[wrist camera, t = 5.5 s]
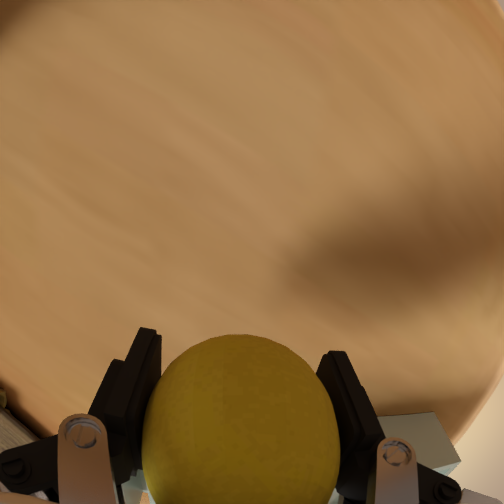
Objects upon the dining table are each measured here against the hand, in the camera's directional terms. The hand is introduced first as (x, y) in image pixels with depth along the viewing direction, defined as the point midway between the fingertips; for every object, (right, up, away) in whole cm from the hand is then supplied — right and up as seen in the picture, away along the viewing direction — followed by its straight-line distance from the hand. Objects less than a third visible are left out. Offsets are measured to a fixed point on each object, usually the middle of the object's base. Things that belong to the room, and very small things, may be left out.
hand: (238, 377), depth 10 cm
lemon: (0, +1, +1) cm, 2 cm away
